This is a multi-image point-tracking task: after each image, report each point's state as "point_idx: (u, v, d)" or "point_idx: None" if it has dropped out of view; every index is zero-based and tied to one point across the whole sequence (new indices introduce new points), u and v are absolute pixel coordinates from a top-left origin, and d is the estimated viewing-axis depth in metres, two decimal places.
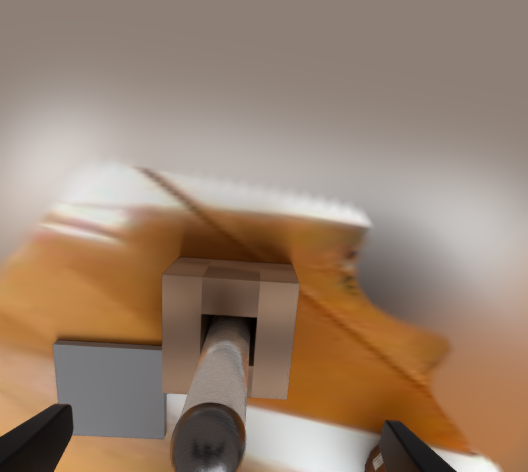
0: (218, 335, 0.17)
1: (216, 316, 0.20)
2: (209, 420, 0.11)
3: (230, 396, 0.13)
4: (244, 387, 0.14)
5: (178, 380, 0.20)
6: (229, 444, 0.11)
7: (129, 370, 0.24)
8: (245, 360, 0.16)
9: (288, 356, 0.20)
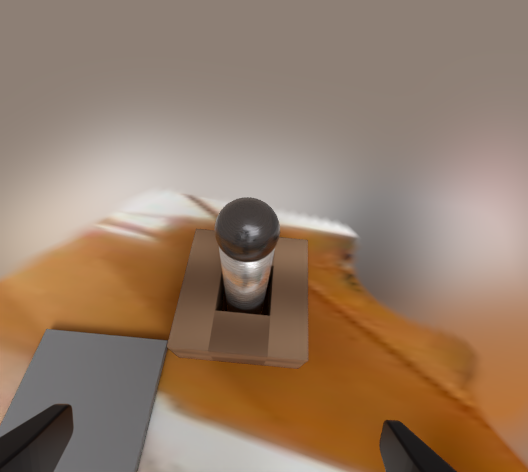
0: None
1: None
2: None
3: None
4: None
5: (188, 330, 0.18)
6: (268, 205, 0.14)
7: (119, 366, 0.20)
8: None
9: (304, 306, 0.20)
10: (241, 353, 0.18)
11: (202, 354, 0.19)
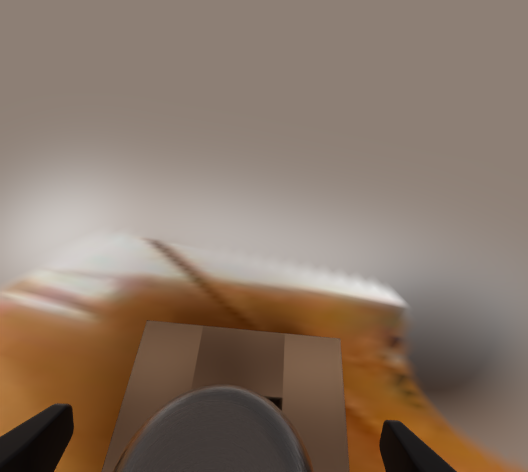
0: None
1: None
2: (229, 386, 0.05)
3: None
4: None
5: None
6: (282, 434, 0.04)
7: None
8: None
9: None
10: None
11: None
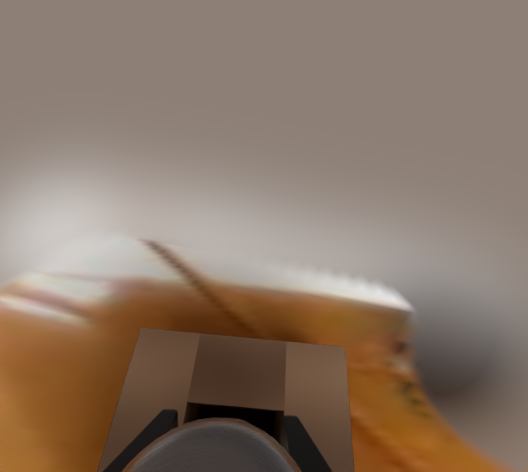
0: None
1: None
2: (225, 423, 0.04)
3: None
4: None
5: None
6: None
7: None
8: None
9: None
10: None
11: None
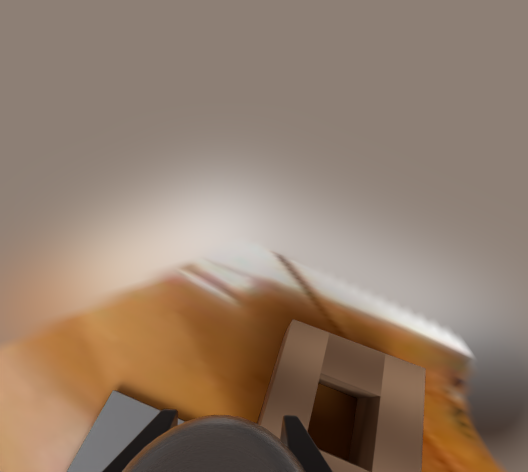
0: None
1: None
2: (227, 420, 0.04)
3: None
4: None
5: None
6: None
7: None
8: None
9: (417, 470, 0.15)
10: None
11: None
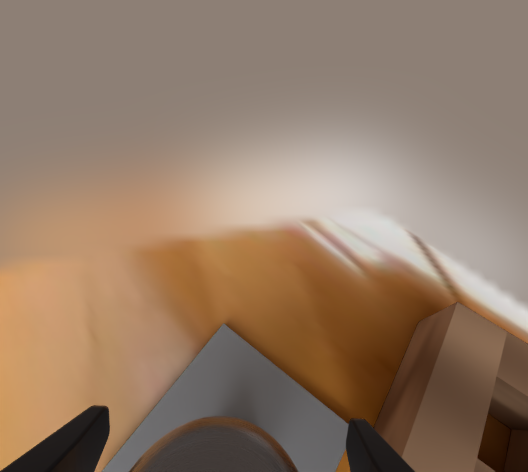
0: None
1: None
2: (226, 420, 0.05)
3: None
4: None
5: (431, 468, 0.11)
6: None
7: (287, 428, 0.15)
8: None
9: None
10: None
11: None
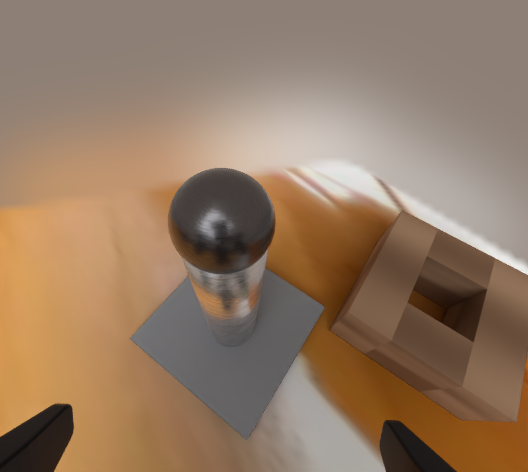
0: None
1: None
2: None
3: None
4: None
5: (374, 308, 0.16)
6: (256, 181, 0.08)
7: (273, 306, 0.19)
8: None
9: (522, 354, 0.15)
10: (429, 365, 0.15)
11: (370, 341, 0.17)
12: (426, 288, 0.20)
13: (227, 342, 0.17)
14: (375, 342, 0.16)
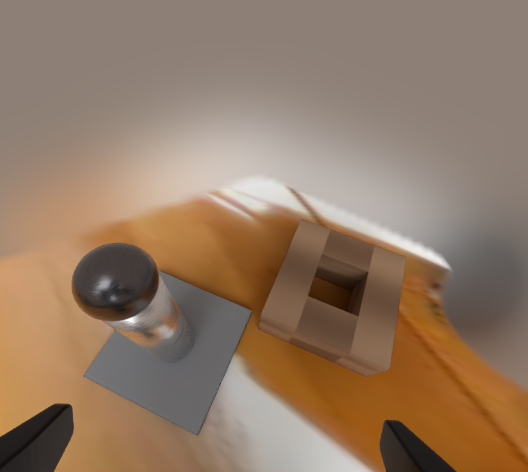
0: None
1: None
2: None
3: None
4: (165, 285, 0.14)
5: (281, 306, 0.20)
6: (136, 248, 0.12)
7: (208, 319, 0.22)
8: (172, 298, 0.16)
9: (393, 318, 0.20)
10: (326, 341, 0.19)
11: (285, 332, 0.21)
12: (332, 277, 0.25)
13: (168, 360, 0.20)
14: (288, 332, 0.20)
